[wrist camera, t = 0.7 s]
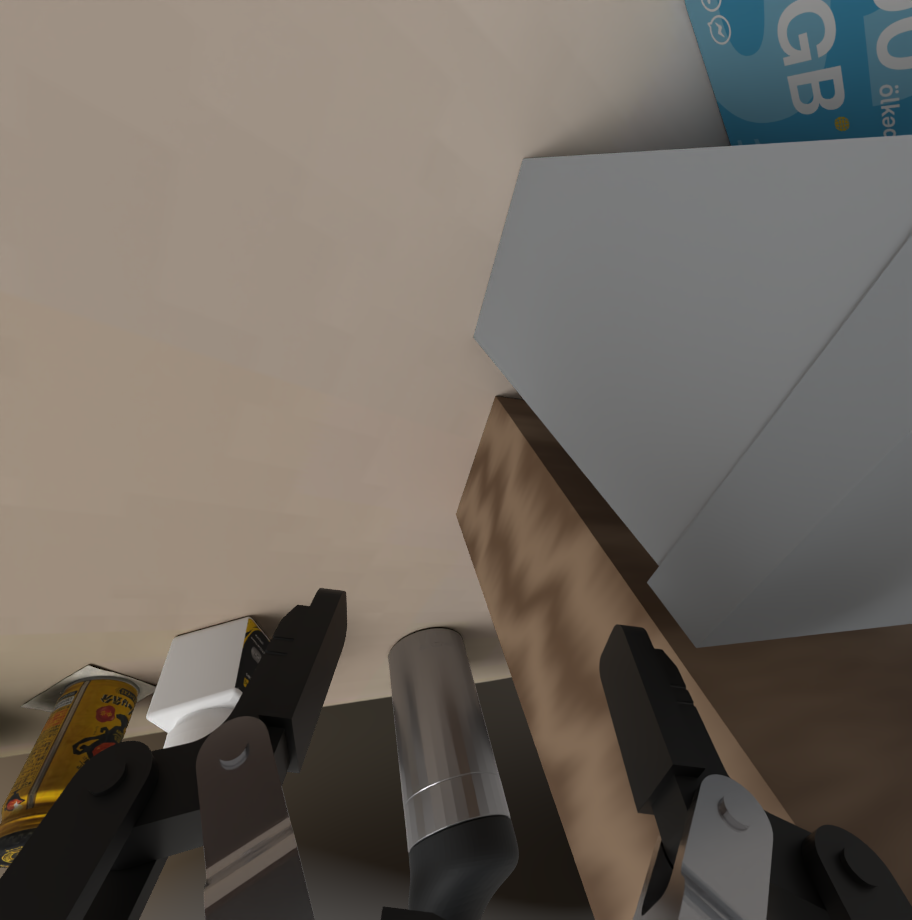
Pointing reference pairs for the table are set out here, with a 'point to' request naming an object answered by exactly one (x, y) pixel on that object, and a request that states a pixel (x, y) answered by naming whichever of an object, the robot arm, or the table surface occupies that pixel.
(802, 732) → the wooden column with lip
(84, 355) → the table surface
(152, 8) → the table surface
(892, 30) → the data package
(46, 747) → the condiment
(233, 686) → the medicine bottle
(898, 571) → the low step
